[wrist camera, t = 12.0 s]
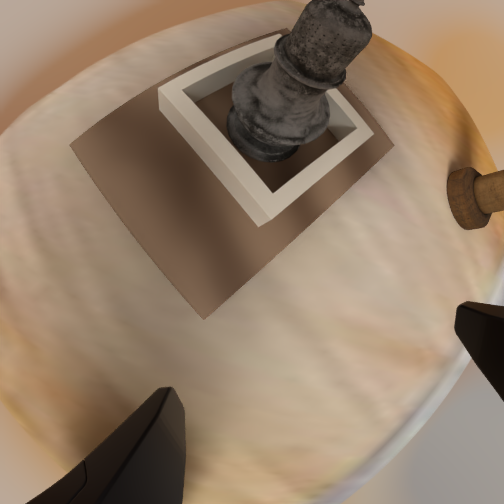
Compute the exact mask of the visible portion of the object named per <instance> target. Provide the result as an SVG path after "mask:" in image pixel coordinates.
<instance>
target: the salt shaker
mask: <svg viewBox="0 0 504 504" xmlns="http://www.w3.org/2000/svg"><path fill="white" fill-rule="evenodd" d="M360 5H362V6H364V5H365V3H364V0H312V1H311V2H309V3H308V4H307V5H306V7H305V9H304V10H303V12H302V14H301V15H300V17H299V19H298V21H297V22H296V24H295V26H294V28H293V29H292V31H291V33H290V34H286V35H284V36H281V37H280V38H279V39H278V40H277V41H276V43H275V46H274V55H275V59H274V61H273V62H262V63H258V64H253V65H251V66H249V67H247V68H246V69H244V70H243V71H242V72H241V73H240V74H239V75H238V76H237V77H236V79H235V82H234V84H233V86H232V101H233V104H234V105H233V106H232V107H231V108H230V111H229V113H228V116H227V123H226V127H227V131H228V135H229V137H230V139H231V140H232V142H233V144H234V145H235V146H236V147H237V148H238V149H239V150H240V151H241V152H242V153H244V154H245V155H247V156H248V157H250V158H253V159H255V160H258V161H262V162H271V163H272V162H279V161H283V160H285V159H287V158H290V157H291V156H292V155H293V154H294V153H295V152H297V150H298V148H299V147H300V145H301V144H306V143H309V142H311V141H314V140H316V139H317V138H318V137H319V136H320V135H322V134H323V133H324V131H325V130H326V128H327V126H328V124H329V119H330V108H329V103H328V101H327V98H326V96H325V92H326V91H327V90H330V89H334V88H337V87H339V86H340V85H342V84H343V82H344V80H345V79H346V69H345V68H346V67H347V66H348V65H349V64H350V63H351V62H352V60H353V59H354V58H355V57H356V56H357V55H358V54H359V53H360V52H361V51H362V50H363V49H364V48H365V47H366V46H367V45H368V43H369V41H370V39H371V37H372V28H371V25H370V22H369V21H368V19H367V17H366V16H365V15H364V14H363V12H362V11H361V10H360V9H359V6H360Z"/></svg>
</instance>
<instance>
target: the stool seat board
mask: <svg viewBox="0 0 504 504" xmlns="http://www.w3.org/2000/svg"><path fill="white" fill-rule="evenodd" d="M290 33H291V31H290V30H288V29H287V28H285V29H282V30H279V31H276V32H272V33H269V34H266V35H263V36H260V37H258V38H255V39H252V40H249V41H247V42H244V43H241V44H239V45H236V46H234V47H231V48H229V49H226V50H224V51H222V52H219V53H217V54H215V55H212V56H210V57H208V58H206V59H204V60H202V61H199V62H197V63H195V64H193V65H191V66H189V67H187V68H185V69H183V70H181V71H179V72H177V73H176V74H174V75H172V76H170V77H168V78H166V79H164V80H163V81H161V82H159V83H157V84H156V85H154V86H152V87H150V88H149V89H147V90H145V91H144V92H142V93H141V94H139V95H137V96H136V97H134V98H133V99H131V100H129V101H128V102H126V103H125V104H123V105H122V106H120V107H119V108H117V109H116V110H114V111H113V112H112V113H110V114H109V115H107V116H106V117H104V118H103V119H102V120H100V121H99V122H98V123H96V124H95V125H94V126H92V127H91V128H90V129H88V130H87V131H86V132H84V133H83V134H82V135H81V136H79V137H78V138H77V139H76V140H74V141H73V142H72V143H71V144H70V147H71V148H72V150H73V151H74V153H75V154H76V156H77V157H78V159H79V161H80V162H81V164H82V165H83V167H84V168H85V170H86V171H87V173H88V174H89V176H90V177H91V178H92V180H93V181H94V183H95V184H96V186H97V187H98V189H99V190H100V191H101V193H102V194H103V196H104V197H105V199H106V200H107V201H108V203H109V204H110V206H111V207H112V208H113V210H114V211H115V212H116V214H117V215H118V216H119V218H120V219H121V220H122V222H123V223H124V224H125V226H126V227H127V228H128V230H129V231H130V232H131V234H132V235H133V236H134V238H135V239H136V240H137V241H138V243H139V244H140V245H141V247H142V248H143V249H144V250H145V252H146V253H147V254H148V255H149V257H150V258H151V259H152V260H153V262H154V263H155V264H156V265H157V267H158V268H159V269H160V270H161V271H162V273H163V274H164V275H165V276H166V277H167V279H168V280H169V281H170V282H171V283H172V285H173V286H174V287H175V288H176V289H177V290H178V292H179V293H180V294H181V295H182V296H183V297H184V299H185V300H186V301H187V302H188V303H189V304H190V305H191V307H192V308H193V309H194V310H195V311H196V312H197V313H198V314H199V315H200V317H201V318H202V319H203V320H204V319H206V318H207V317H208V316H209V315H210V314H211V313H212V312H214V311H215V310H216V309H217V308H218V307H219V306H220V305H221V304H223V303H224V302H225V301H226V300H227V299H228V298H229V297H231V296H232V295H233V294H234V293H235V292H236V291H237V290H238V289H240V288H241V287H242V286H243V285H244V284H245V283H246V282H247V281H249V280H250V279H251V278H252V277H253V276H254V275H255V274H256V273H257V272H259V271H260V270H261V269H262V268H263V267H264V266H265V265H266V264H267V263H269V262H270V261H271V260H272V259H273V258H274V257H275V256H276V255H277V254H279V253H280V252H281V251H282V250H283V249H284V248H285V247H286V246H287V245H288V244H290V243H291V242H292V241H293V240H294V239H295V238H296V237H297V236H298V235H299V234H301V233H302V232H303V231H304V230H305V229H306V228H307V227H308V226H309V225H310V224H311V223H313V222H314V221H315V220H316V219H317V218H318V217H319V216H320V215H321V214H322V213H323V212H324V211H326V210H327V209H328V208H329V207H330V206H331V205H332V204H333V203H334V202H335V201H336V200H337V199H338V198H340V197H341V196H342V195H343V194H344V193H345V192H346V191H347V190H348V189H349V188H350V187H351V186H352V185H353V184H354V183H356V182H357V181H358V180H359V179H360V178H361V177H362V176H363V175H364V174H365V173H366V172H367V171H368V170H369V169H370V168H371V167H372V166H374V165H375V164H376V163H377V162H378V161H379V160H380V159H381V158H382V157H383V156H384V155H385V154H386V153H387V152H388V151H389V150H390V149H391V148H392V147H393V146H394V144H393V143H392V142H391V140H390V139H389V137H388V136H387V135H386V133H385V132H384V131H383V129H382V128H381V127H380V125H379V124H378V123H377V122H376V120H375V119H374V118H373V117H372V115H371V114H370V113H369V112H368V110H367V109H366V108H365V107H364V106H363V104H362V103H361V102H360V101H359V100H358V98H357V97H356V96H355V95H354V94H353V93H352V92H351V90H350V89H349V88H348V87H347V86H346V85H345V84H344V83H343V84H342V85H340V86H339V87H337V88H334V89H330V90H327V91H326V92H325V96H326V98H327V101H328V103H329V108H330V119H329V124H328V126H327V128H326V130H325V131H324V133H323V134H322V135H320V136H319V137H318V138H317V139H316V140H314V141H311V142H309V143H306V144H301V145H300V147H299V148H298V150H297V152H295V153H294V154H293V155H292V156H291V157H290V158H287V159H285V160H283V161H279V162H272V163H271V162H262V161H258V160H255V159H253V158H250V157H248V156H247V155H245V154H244V153H242V152H241V151H240V150H239V149H238V148H237V147H236V146H235V145H234V144H233V142H232V140H231V139H230V137H229V135H228V131H227V127H226V123H227V116H228V113H229V111H230V108H231V107H232V106H233V105H234V104H233V101H232V86H233V84H234V82H235V79H236V77H237V76H238V75H239V74H240V73H241V72H242V71H243V70H244V69H246V68H247V67H249V66H251V65H253V64H258V63H262V62H273V61H274V59H275V55H274V46H275V43H276V41H277V40H278V39H279V38H280V37H281V36H284V35H286V34H290Z"/></svg>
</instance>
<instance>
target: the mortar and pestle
mask: <svg viewBox="0 0 504 504" xmlns="http://www.w3.org/2000/svg"><path fill="white" fill-rule="evenodd" d="M447 194H448V200H449V204H450V208H451V211H452V213H453V216H454V218H455V219H456V221H457V223H458V224H459V225H460V226H461V227H462V228H463V229H466V230H472V229H478V228H483V227H485V226H486V225H487V224H488V222H489V219H490V217H491V214H492V213H493V212H498V211H503V210H504V170H501V171H498V172H494V173H491V174H487V175H483V176H482V175H481V174H480V173H479V172H477V171H476V170H475V169H474V168H471V167H467V168H464V169H460V170H457V171H454V172H452V173H451V174H450V176H449V179H448V183H447Z"/></svg>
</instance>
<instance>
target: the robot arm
mask: <svg viewBox="0 0 504 504" xmlns="http://www.w3.org/2000/svg"><path fill="white" fill-rule="evenodd" d="M454 329H455V333H456V335H457V336H458V337H459V339H460V340H461V342H462V343H463V345H464V346H465V348H466V350H467V351H468V353H469V354H470V356H471V357H472V359H473V360H474V362H475V363H476V365H477V366H478V368H479V369H480V370H481V372H482V373H483V374H484V375H485V377H486V378H487V380H488V381H489V382H490V384H491V385H492V386H493V387H494V389H495V390H496V392H497V393H498V394H499V396H500V397H501V399H502V400H503V401H504V306H498V305H491V304H484V303H477V302H470V301H466V302H464V303H462V304H460V305H459V306H458V307H457V310H456V318H455V325H454ZM185 462H186V440H185V411H184V407H183V405H182V403H181V401H180V399H179V397H178V395H177V393H176V391H175V390H174V388H173V387H162V388H158V389H157V390H156V391H155V392H154V393H153V394H152V395H151V396H150V397H149V398H148V399H147V400H146V401H145V402H144V403H143V404H142V405H141V406H140V407H139V408H138V409H137V410H136V411H135V412H134V413H132V414H131V415H130V416H129V417H128V418H127V419H126V420H125V421H124V422H123V423H122V424H121V425H120V426H119V427H118V428H117V429H116V430H115V431H114V432H113V433H111V434H110V435H109V436H108V437H107V438H106V439H105V440H104V441H103V442H102V443H101V444H100V445H99V446H98V447H96V448H95V449H94V450H93V451H92V452H91V453H90V454H89V455H88V456H87V457H86V458H85V460H82V461H81V462H80V463H79V464H78V465H77V466H76V467H75V468H73V469H72V470H71V471H70V472H69V473H67V474H66V475H65V476H64V477H63V478H62V479H60V480H59V481H57V482H56V483H55V484H53V485H52V486H51V487H49V488H48V489H46V490H45V491H44V492H42V493H41V494H39V495H38V496H36V497H35V498H33V499H32V500H30V501H29V502H27V503H26V504H182V501H183V487H184V474H185Z"/></svg>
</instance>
